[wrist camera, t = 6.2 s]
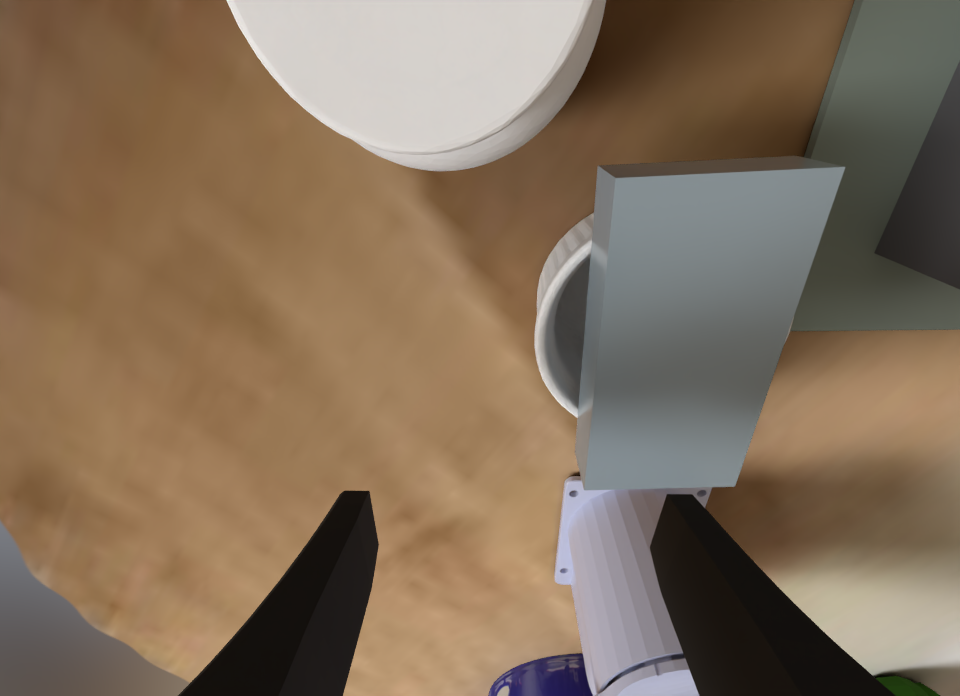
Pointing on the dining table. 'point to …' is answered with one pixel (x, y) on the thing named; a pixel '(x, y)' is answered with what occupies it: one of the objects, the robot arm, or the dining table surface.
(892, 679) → the bell pepper
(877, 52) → the mat
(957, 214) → the dark grey rectangular block
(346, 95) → the pill bottle
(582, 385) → the tile
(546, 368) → the ramekin
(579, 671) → the dog bowl
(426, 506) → the dining table surface
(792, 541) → the dining table surface
